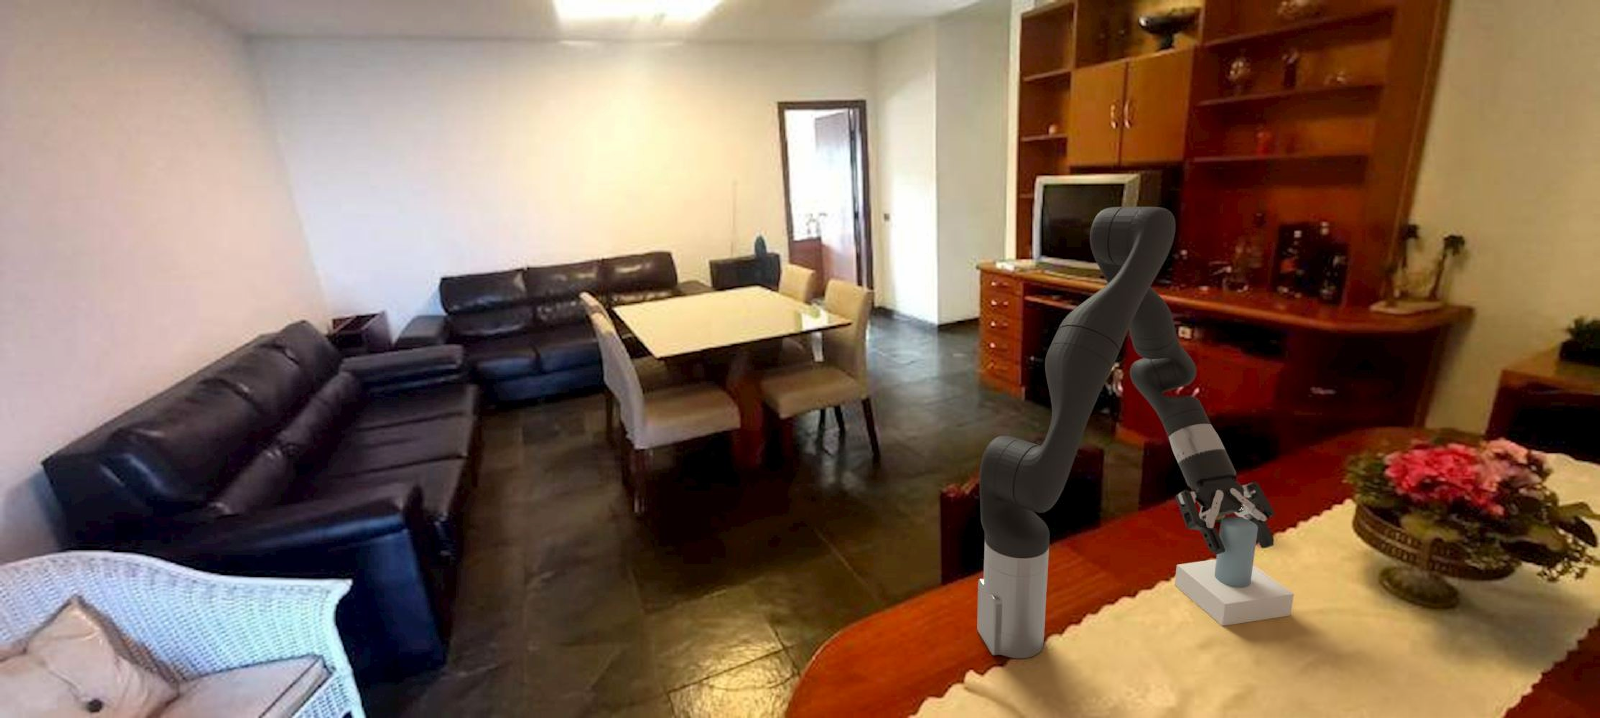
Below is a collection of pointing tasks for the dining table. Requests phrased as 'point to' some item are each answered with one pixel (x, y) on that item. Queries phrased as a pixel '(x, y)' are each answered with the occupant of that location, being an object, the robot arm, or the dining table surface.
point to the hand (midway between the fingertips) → (1244, 550)
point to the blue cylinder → (1236, 551)
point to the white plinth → (1233, 594)
